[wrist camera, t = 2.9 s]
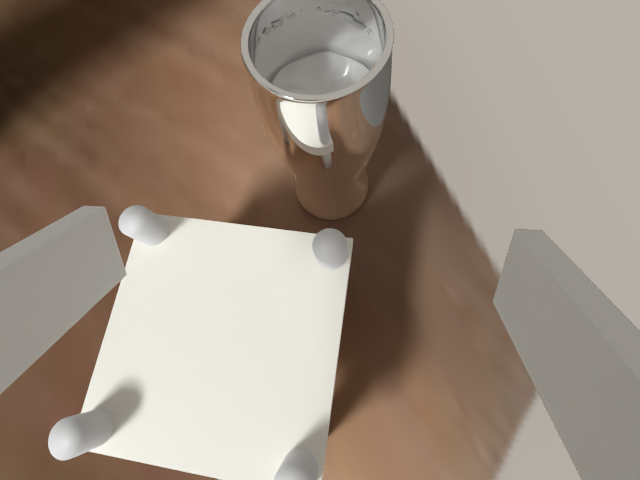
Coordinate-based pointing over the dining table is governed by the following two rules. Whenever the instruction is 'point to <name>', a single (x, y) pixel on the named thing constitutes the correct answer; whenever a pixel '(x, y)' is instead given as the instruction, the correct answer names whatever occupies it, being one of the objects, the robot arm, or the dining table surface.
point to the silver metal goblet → (321, 92)
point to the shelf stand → (217, 351)
